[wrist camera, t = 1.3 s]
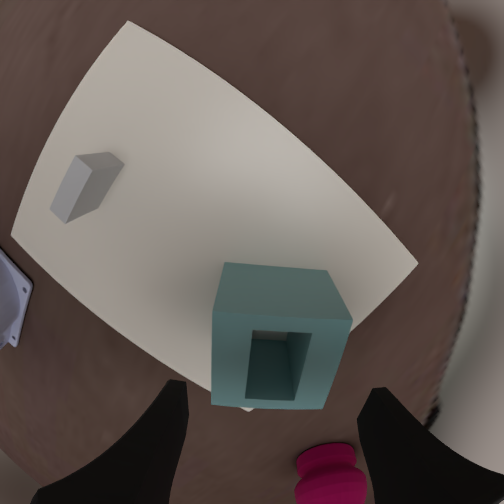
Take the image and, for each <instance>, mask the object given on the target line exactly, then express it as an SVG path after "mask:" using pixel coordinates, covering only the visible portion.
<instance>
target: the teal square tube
mask: <svg viewBox="0 0 504 504" xmlns="http://www.w3.org/2000/svg"><path fill="white" fill-rule="evenodd" d="M352 322H353V318H352V316H351V315H350V313H349V311H348V309H347V307H346V305H345V303H344V301H343V299H342V297H341V295H340V294H339V292H338V290H337V288H336V286H335V284H334V282H333V280H332V279H331V277H330V275H329V273H328V271H327V270H315V269H303V268H290V267H278V266H266V265H254V264H243V263H231V262H224V266H223V270H222V274H221V278H220V282H219V286H218V290H217V294H216V298H215V302H214V306H213V310H212V348H211V404H212V405H222V406H233V407H246V408H264V409H323V406H324V404H325V401H326V399H327V396H328V393H329V391H330V388H331V385H332V383H333V380H334V377H335V374H336V372H337V369H338V366H339V363H340V360H341V357H342V354H343V351H344V348H345V345H346V342H347V339H348V336H349V332H350V329H351V326H352ZM252 330H264V331H280V332H288V333H287V338H286V341H281V340H264V339H252Z"/></svg>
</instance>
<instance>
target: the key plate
mask: <svg viewBox="0 0 504 504" xmlns="http://www.w3.org/2000/svg"><path fill="white" fill-rule="evenodd" d="M11 236H12V237H13V238H14V239H15V240H16V241H17V242H18V243H19V245H20V246H21V247H22V248H23V249H24V250H25V251H26V252H27V253H28V254H29V255H30V256H31V257H32V258H33V259H34V260H35V261H36V262H37V263H38V264H39V265H40V266H41V267H42V268H43V269H44V270H45V271H46V272H47V273H49V274H50V275H51V276H52V277H53V278H54V279H55V280H56V281H57V282H58V283H59V284H60V285H62V286H63V287H64V288H65V289H66V290H67V291H68V292H70V293H71V294H72V295H73V296H74V297H75V298H76V299H78V300H79V301H80V302H81V303H82V304H84V305H85V306H86V307H87V308H88V309H90V310H91V311H92V312H93V313H95V314H96V315H97V316H98V317H100V318H101V319H102V320H103V321H105V322H106V323H107V324H109V325H110V326H111V327H113V328H114V329H115V330H117V331H118V332H119V333H121V334H122V335H123V336H125V337H126V338H127V339H129V340H130V341H132V342H133V343H134V344H136V345H137V346H139V347H140V348H141V349H143V350H144V351H146V352H147V353H149V354H150V355H152V356H153V357H155V358H156V359H158V360H159V361H161V362H162V363H164V364H165V365H167V366H169V367H170V368H172V369H173V370H175V371H176V372H178V373H180V374H181V375H183V376H185V377H186V378H188V379H190V380H191V381H193V382H195V383H196V384H198V385H200V386H202V387H203V388H205V389H207V390H209V391H210V392H211V348H212V310H213V306H214V302H215V298H216V294H217V290H218V286H219V282H220V278H221V274H222V270H223V266H224V262H231V263H243V264H254V265H266V266H278V267H290V268H303V269H315V270H327V271H328V273H329V275H330V277H331V279H332V280H333V282H334V284H335V286H336V288H337V290H338V292H339V294H340V295H341V297H342V299H343V301H344V303H345V305H346V307H347V309H348V311H349V313H350V315H351V316H352V318H353V322H352V326H351V329H350V332H351V331H352V330H353V329H354V328H355V327H356V326H357V325H358V324H360V323H361V322H362V321H363V320H364V319H365V318H366V317H367V316H368V315H369V314H370V313H371V312H372V311H373V310H374V309H375V308H376V307H377V306H378V305H379V304H380V303H381V302H382V301H383V300H384V299H385V298H386V297H387V296H388V295H389V294H390V293H391V292H392V291H393V290H394V289H395V288H396V287H397V286H398V285H399V284H400V283H401V282H402V281H403V280H404V279H405V278H406V277H407V276H408V275H409V273H410V272H411V271H412V270H413V269H414V268H415V267H416V266H417V265H418V264H419V263H418V262H417V261H416V260H415V258H414V257H413V256H412V255H411V254H410V252H409V251H408V250H407V249H406V248H405V246H404V245H403V244H402V243H401V242H400V241H399V239H398V238H397V237H396V236H395V235H394V234H393V233H392V231H391V230H390V229H389V228H388V227H387V226H386V225H385V224H384V223H383V221H382V220H381V219H380V218H379V217H378V216H377V215H376V214H375V213H374V212H373V211H372V210H371V208H370V207H369V206H368V205H367V204H366V203H365V202H364V201H363V200H362V199H361V198H360V197H359V196H358V195H357V194H356V193H355V192H354V191H353V190H352V189H351V188H350V187H349V186H348V185H347V184H346V183H345V182H344V181H343V180H342V179H341V178H340V177H339V176H338V175H337V174H336V173H335V172H334V171H333V170H332V169H331V168H330V167H329V166H328V165H326V164H325V163H324V162H323V161H322V160H321V159H320V158H319V157H318V156H317V155H316V154H315V153H313V152H312V151H311V150H310V149H309V148H308V147H307V146H306V145H305V144H303V143H302V142H301V141H300V140H299V139H298V138H297V137H295V136H294V135H293V134H292V133H291V132H290V131H288V130H287V129H286V128H285V127H284V126H283V125H281V124H280V123H279V122H278V121H277V120H275V119H274V118H273V117H272V116H270V115H269V114H268V113H267V112H265V111H264V110H263V109H262V108H260V107H259V106H258V105H257V104H255V103H254V102H253V101H251V100H250V99H249V98H248V97H246V96H245V95H244V94H242V93H241V92H240V91H238V90H237V89H236V88H234V87H233V86H232V85H230V84H229V83H227V82H226V81H225V80H223V79H222V78H220V77H219V76H218V75H216V74H215V73H213V72H212V71H210V70H209V69H207V68H206V67H205V66H203V65H202V64H200V63H199V62H197V61H196V60H194V59H192V58H191V57H189V56H188V55H186V54H185V53H183V52H182V51H180V50H178V49H177V48H175V47H174V46H172V45H170V44H169V43H167V42H165V41H164V40H162V39H160V38H159V37H157V36H155V35H153V34H152V33H150V32H148V31H146V30H145V29H143V28H141V27H139V26H137V25H135V24H134V23H132V22H130V21H127V22H126V24H125V25H124V26H123V27H122V28H121V29H120V31H119V32H118V33H117V34H116V35H115V37H114V38H113V39H112V40H111V41H110V43H109V44H108V45H107V46H106V48H105V49H104V50H103V52H102V53H101V54H100V56H99V57H98V58H97V60H96V61H95V62H94V64H93V65H92V67H91V68H90V69H89V71H88V72H87V74H86V75H85V77H84V78H83V80H82V81H81V83H80V84H79V86H78V87H77V89H76V90H75V92H74V94H73V95H72V97H71V98H70V100H69V102H68V103H67V105H66V107H65V109H64V110H63V112H62V114H61V116H60V117H59V119H58V121H57V123H56V125H55V127H54V128H53V130H52V132H51V134H50V136H49V138H48V140H47V142H46V144H45V146H44V148H43V150H42V153H41V155H40V157H39V159H38V161H37V164H36V166H35V168H34V171H33V173H32V175H31V178H30V180H29V183H28V185H27V188H26V190H25V193H24V196H23V199H22V201H21V204H20V207H19V210H18V213H17V216H16V219H15V222H14V226H13V229H12V232H11ZM350 332H349V333H350ZM287 333H288V332H280V331H264V330H252V339H264V340H281V341H286V338H287ZM240 408H242V409H244V410H246V411H248V412H249V411H251V410H252V409H254V408H246V407H240Z"/></svg>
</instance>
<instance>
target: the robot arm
mask: <svg viewBox="0 0 504 504" xmlns="http://www.w3.org/2000/svg"><path fill="white" fill-rule="evenodd" d="M32 287H33V286H32V282H31V281H30V280H29V279H28V278H27V277H26V276H25V275H24V274H23V273H22V272H21V271H20V270H19V269H18V267H17V266H16V265H15V264H14V263H13V262H12V261H11V260H10V259H9V258H8V257H7V256H6V255H5V253H4V252H3V251H2V250H1V249H0V350H1V349H2V348H3V347H4V346H5V345H6V344H7V342H9V343H10V344H11V345H12V346H14V347H16V346H17V345H18V342H19V338H20V333H21V329H22V324H23V320H24V316H25V312H26V309H27V305H28V302H29V298H30V295H31V291H32ZM188 418H189V409H188V398H187V386H186V382H184V381H177V380H171V379H170V380H169V381H167V383H166V384H165V386H164V387H163V389H162V390H161V392H160V393H159V394H158V396H157V397H156V399H155V400H154V401H153V402H152V404H151V405H150V406H149V407H148V409H147V410H146V411H145V412H144V413H143V415H142V416H141V417H140V418H139V419H138V420H137V422H136V423H135V424H134V425H133V426H132V427H131V428H130V429H129V430H128V431H127V432H126V433H125V434H124V435H123V436H122V437H121V438H120V439H119V440H118V441H117V442H116V443H114V444H113V445H112V446H111V447H110V448H109V449H107V450H106V451H105V452H104V453H102V454H101V455H100V456H98V457H97V458H96V459H94V460H93V461H92V462H90V463H89V464H87V465H86V466H84V467H82V468H81V469H79V470H77V471H76V472H74V473H72V474H70V475H69V476H67V477H65V478H63V479H61V480H59V481H56V482H54V483H52V484H50V485H47V486H45V487H42V488H40V489H38V491H37V492H36V494H35V495H34V497H33V499H32V501H31V503H30V504H169V498H170V491H171V486H172V482H173V478H174V475H175V471H176V468H177V464H178V461H179V457H180V454H181V450H182V447H183V443H184V440H185V436H186V430H187V424H188ZM357 424H358V431H359V438H360V442H361V446H362V449H363V453H364V456H365V460H366V463H367V467H368V470H369V474H370V477H371V481H372V485H373V490H374V498H375V504H499V503H500V502H501V501H503V500H504V475H503V474H500V473H497V472H494V471H491V470H488V469H486V468H483V467H481V466H479V465H477V464H475V463H473V462H471V461H469V460H467V459H466V458H464V457H462V456H461V455H459V454H458V453H456V452H454V451H453V450H452V449H450V448H449V447H448V446H446V445H445V444H444V443H442V442H441V441H440V440H438V439H437V438H436V437H435V436H434V435H433V434H432V433H430V432H429V431H428V430H427V429H426V428H425V427H424V426H423V425H422V424H421V423H420V422H419V421H418V420H417V419H416V418H415V417H414V416H413V415H412V414H411V413H410V412H409V411H408V410H407V409H406V408H405V407H404V406H403V405H402V404H401V403H400V402H399V401H398V399H397V398H396V397H395V396H394V395H393V394H392V393H391V392H390V391H389V390H388V389H387V388H386V387H382V388H373V389H372V391H371V393H370V395H369V397H368V399H367V401H366V403H365V405H364V407H363V408H362V410H361V412H360V414H359V416H358V418H357Z"/></svg>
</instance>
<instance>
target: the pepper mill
mask: <svg viewBox="0 0 504 504" xmlns="http://www.w3.org/2000/svg"><path fill="white" fill-rule="evenodd" d="M296 462H297V472H298V475H299V476H300V477H301V478H302V479H301V480H300V481H299V482H298V484H297V485H296V487H295V498H296V503H297V504H364V502H365V499H366V493H367V481H366V476H365V474H364V473H363V472H362V471H361V470H359V469H358V468H356V467H354V466H355V464H356V457H355V453H354V449H353V448H352V446H350V445H348V444H344V443H329V444H324V445H319V446H316V447H314V448H311V449H309V450H307V451H305V452H304V453H302V454H301V455H300V456H299V457H298V459H297V461H296Z"/></svg>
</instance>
